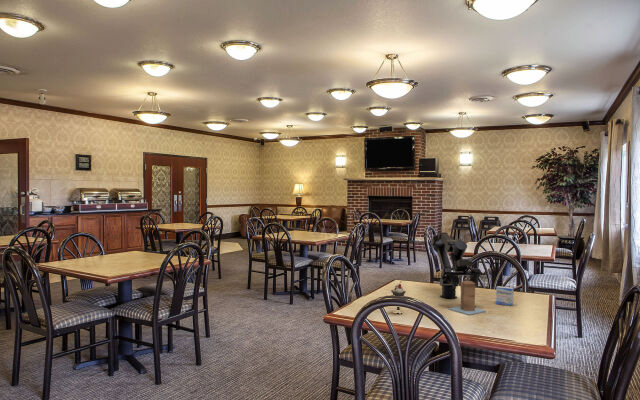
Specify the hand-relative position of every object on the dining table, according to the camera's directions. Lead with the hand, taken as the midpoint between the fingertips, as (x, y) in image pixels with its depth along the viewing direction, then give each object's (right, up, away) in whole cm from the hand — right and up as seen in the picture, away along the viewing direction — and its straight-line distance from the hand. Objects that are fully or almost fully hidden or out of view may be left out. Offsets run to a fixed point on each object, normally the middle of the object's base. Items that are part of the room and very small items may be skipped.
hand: (465, 288), depth 222 cm
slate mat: (0, -10, -3) cm, 10 cm away
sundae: (-34, -10, -8) cm, 36 cm away
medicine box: (+23, -10, +11) cm, 28 cm away
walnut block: (0, -9, -3) cm, 10 cm away
